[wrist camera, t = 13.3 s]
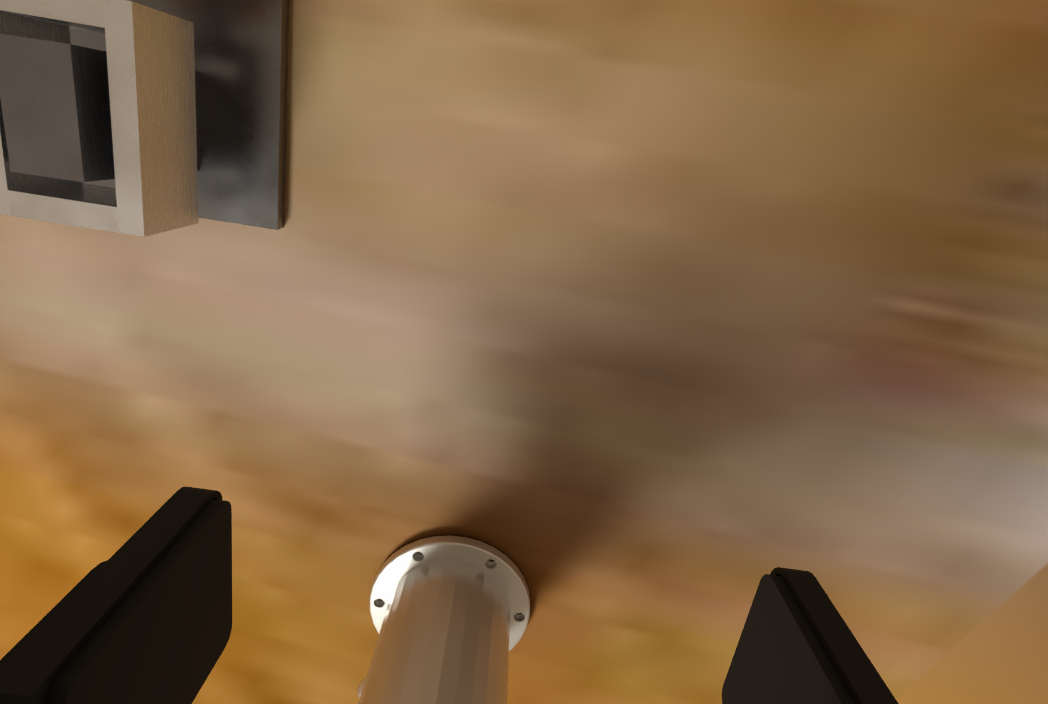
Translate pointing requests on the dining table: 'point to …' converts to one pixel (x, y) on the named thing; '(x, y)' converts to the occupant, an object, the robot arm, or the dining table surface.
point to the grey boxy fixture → (168, 113)
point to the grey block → (57, 109)
